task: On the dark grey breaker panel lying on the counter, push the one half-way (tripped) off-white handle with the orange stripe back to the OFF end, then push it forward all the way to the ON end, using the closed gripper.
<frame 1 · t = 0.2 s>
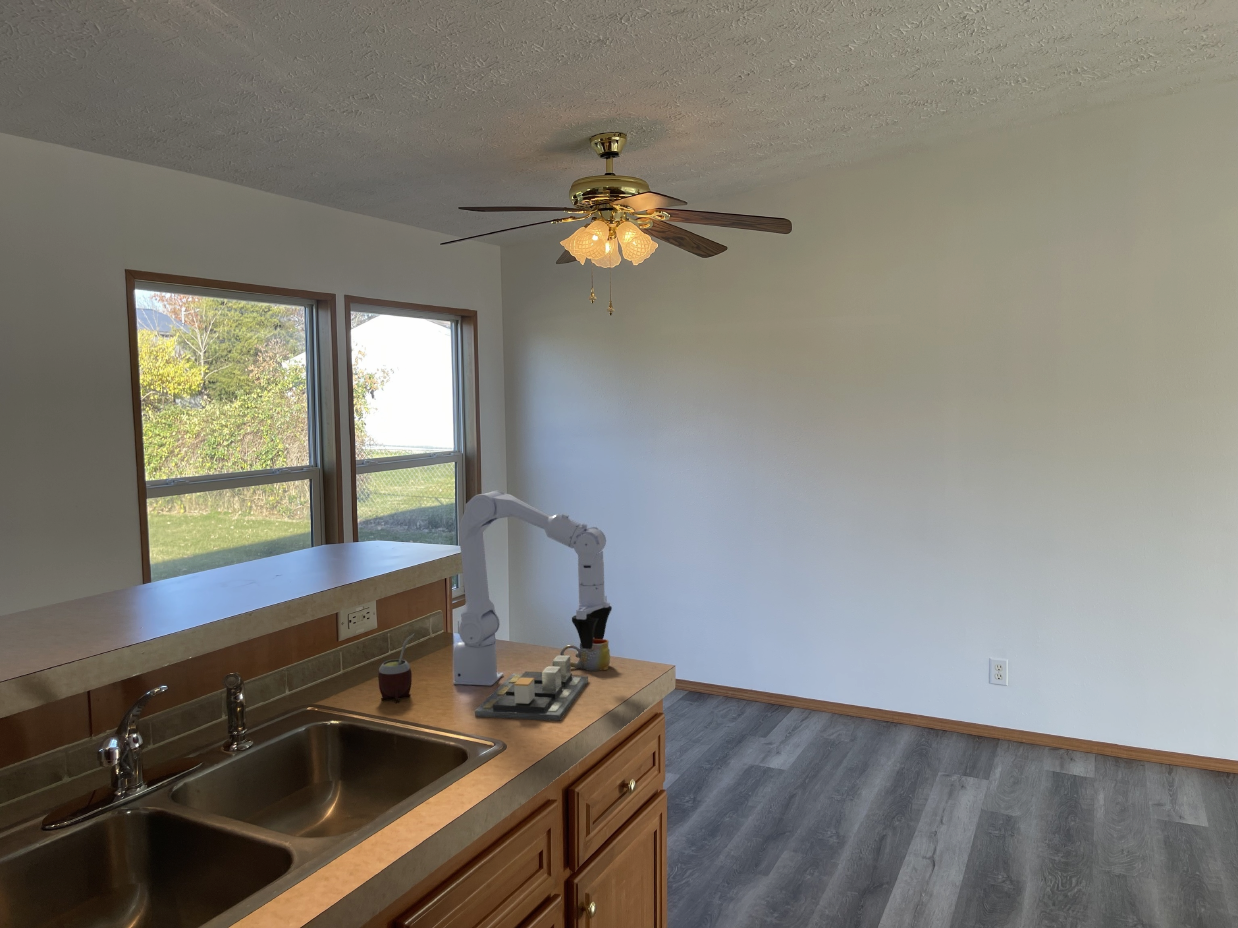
hand: (593, 643, 185), 10 cm above the countertop, tool pointing down, fingers open, 7 cm apart
breaker panel: (534, 697, 180), on the countertop
mug: (585, 668, 200), on the countertop
tripped breaker handle: (524, 690, 171), point 5 cm above the countertop, slide at 3.5 cm
mate gourd: (398, 699, 182), on the countertop
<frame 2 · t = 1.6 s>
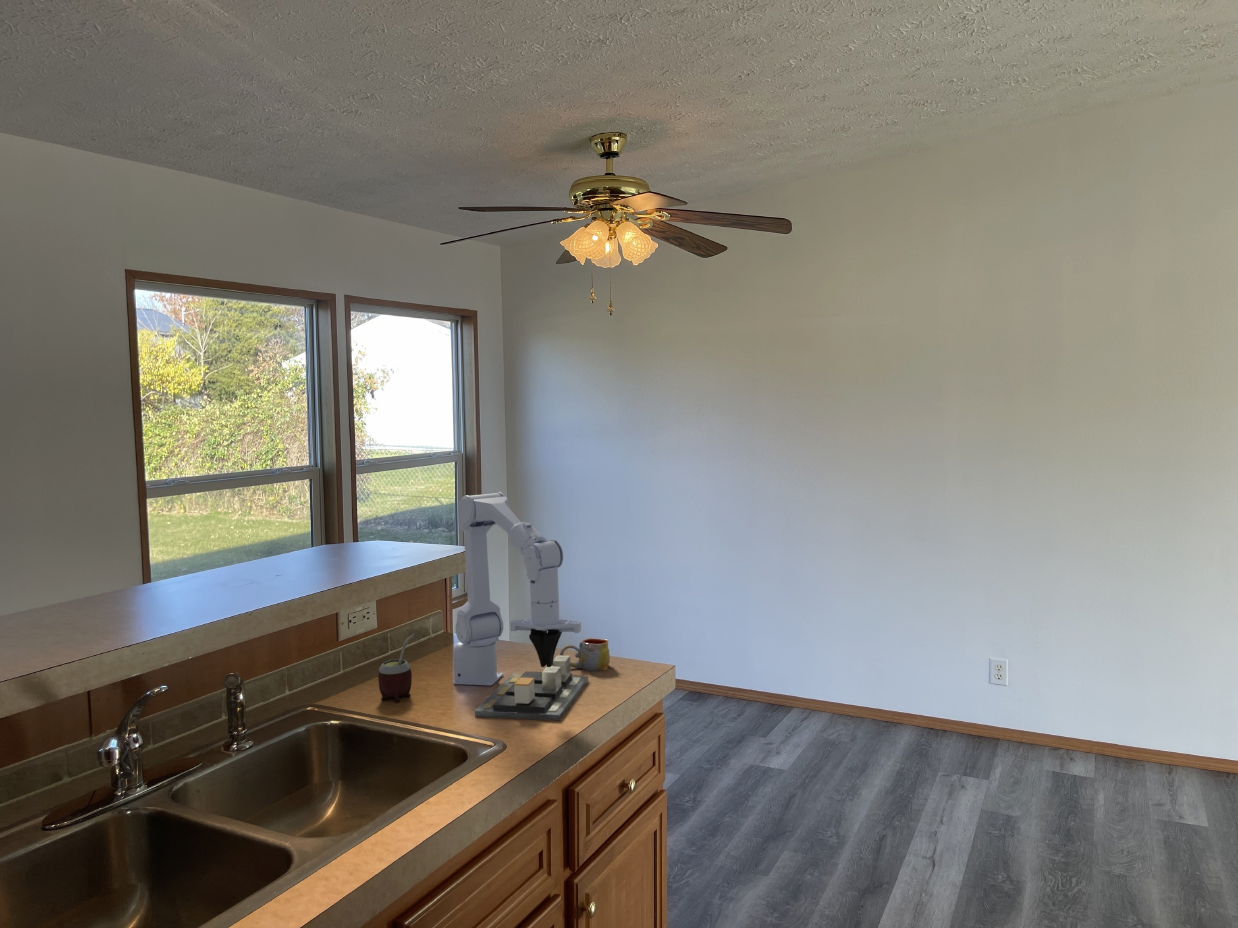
hand: (546, 665, 170), 10 cm above the countertop, tool pointing down, fingers closed
nothing on the countertop moved.
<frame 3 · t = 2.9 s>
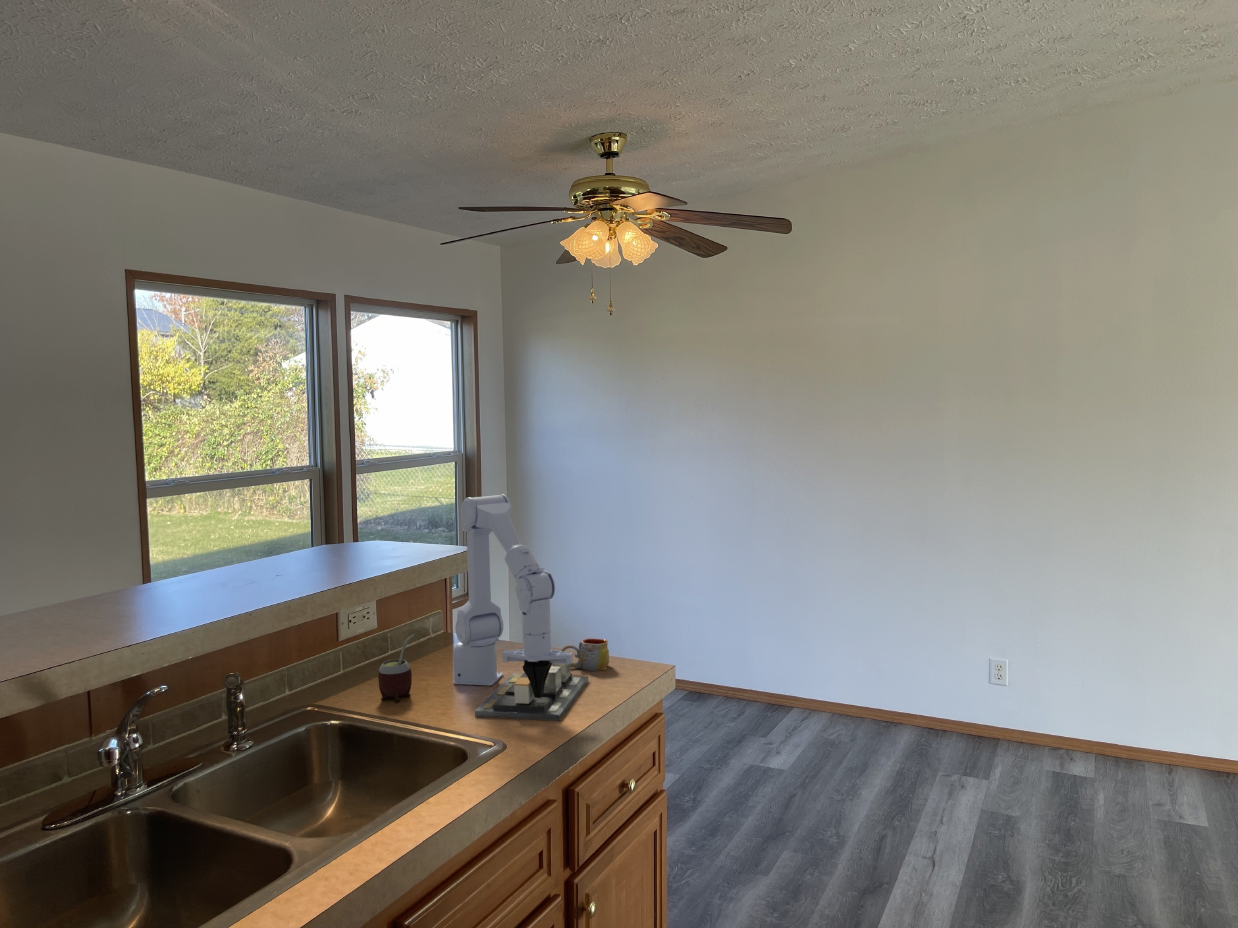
hand: (538, 696, 171), 3 cm above the countertop, tool pointing down, fingers closed
tripped breaker handle: (524, 690, 171), point 5 cm above the countertop, slide at 3.5 cm, touching gripper
everything else where it was.
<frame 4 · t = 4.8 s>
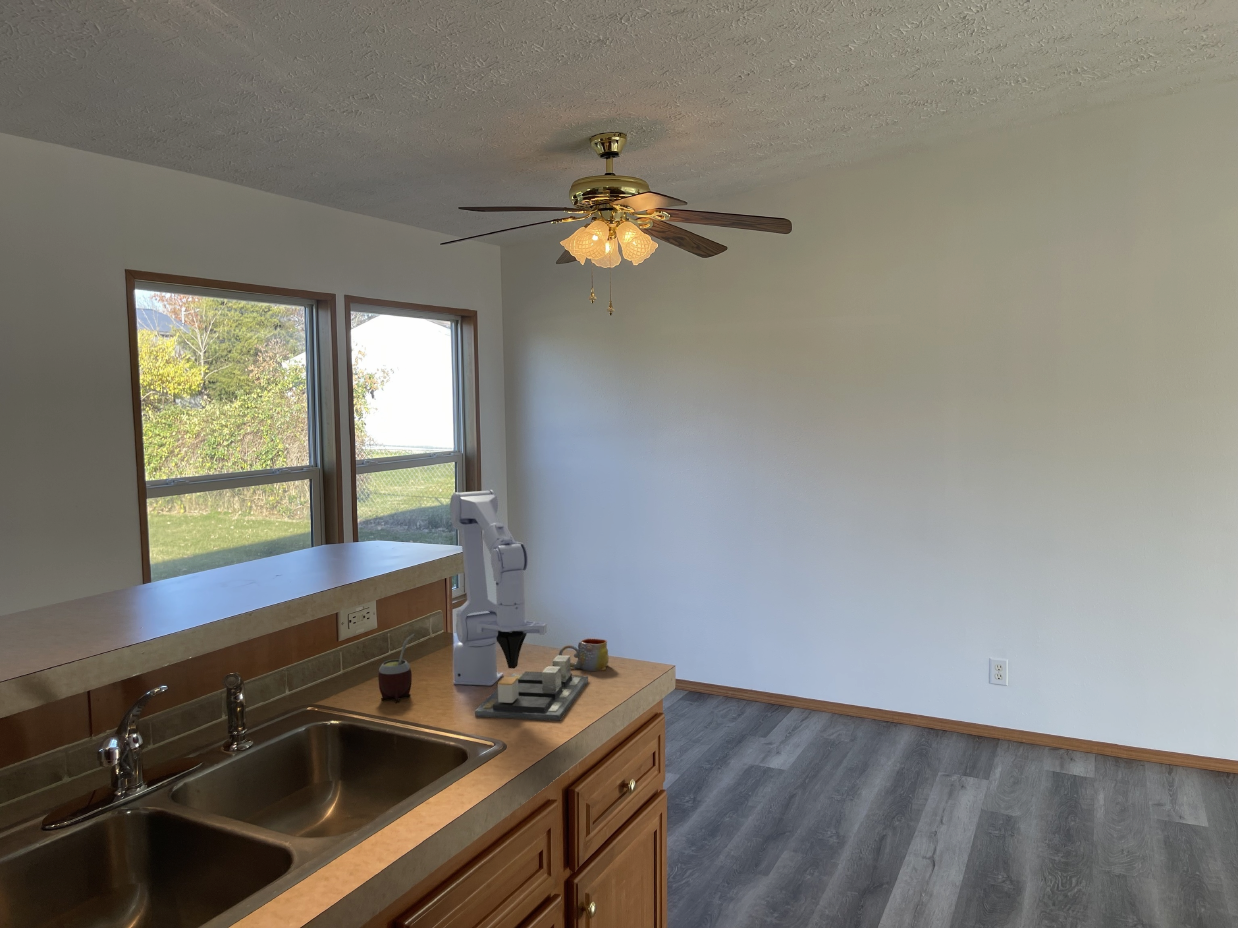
hand: (512, 666, 172), 9 cm above the countertop, tool pointing down, fingers closed
tripped breaker handle: (508, 689, 172), point 5 cm above the countertop, slide at 0.0 cm
everything else where it was.
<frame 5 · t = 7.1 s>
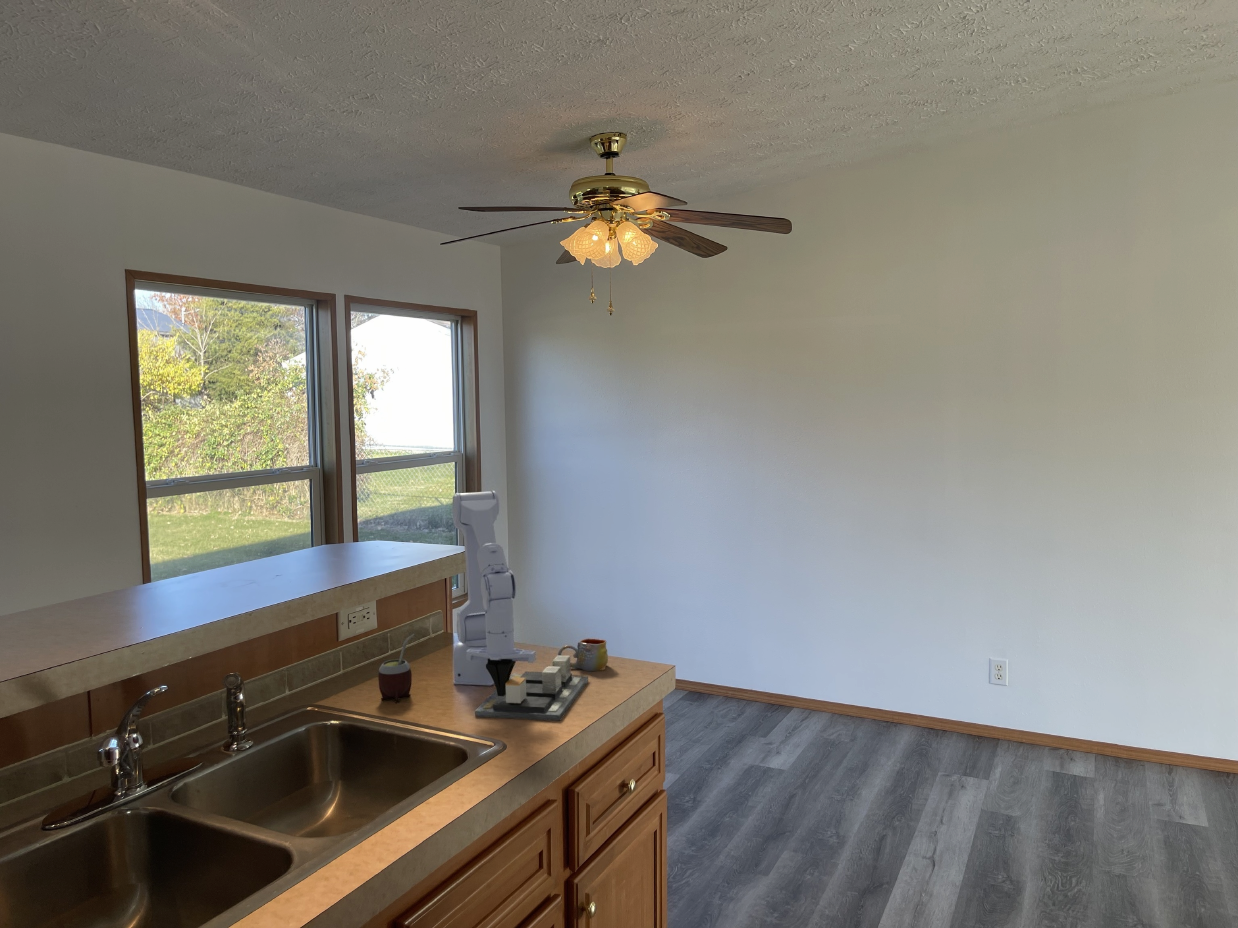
hand: (502, 694, 172), 3 cm above the countertop, tool pointing down, fingers closed
tripped breaker handle: (516, 689, 172), point 5 cm above the countertop, slide at 1.7 cm, touching gripper
everything else where it was.
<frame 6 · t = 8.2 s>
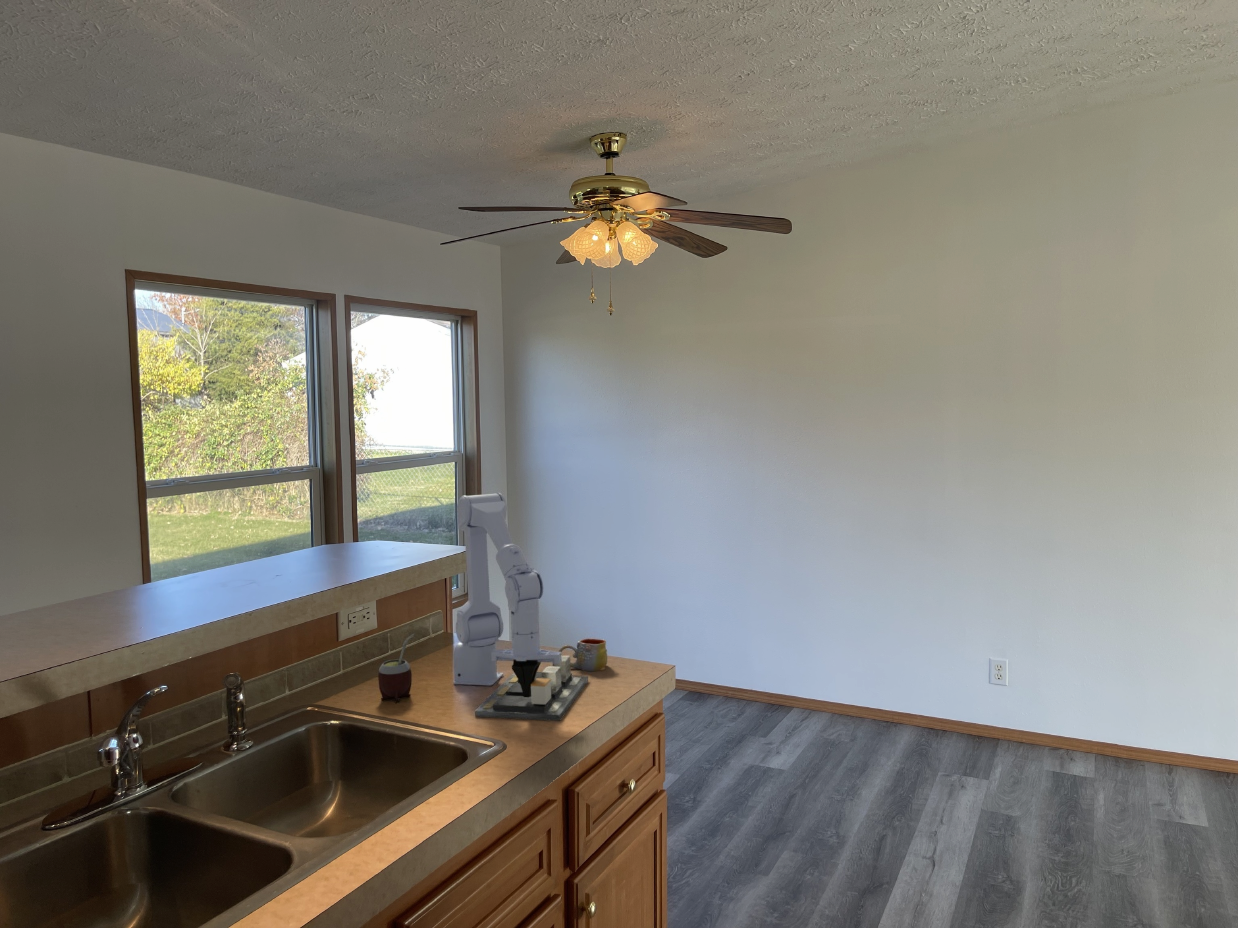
hand: (527, 695, 171), 3 cm above the countertop, tool pointing down, fingers closed
tripped breaker handle: (541, 691, 171), point 5 cm above the countertop, slide at 7.1 cm, touching gripper
everything else where it was.
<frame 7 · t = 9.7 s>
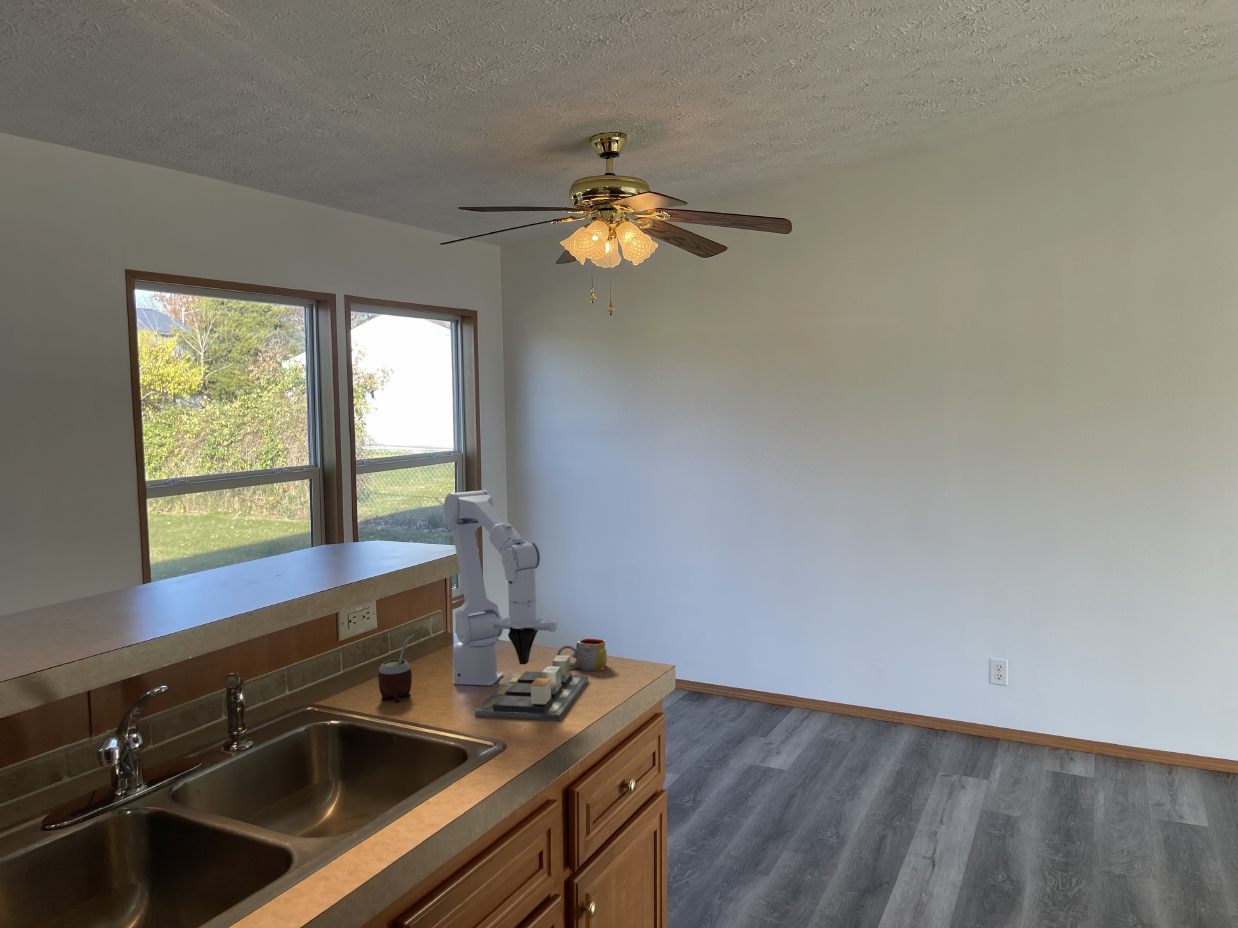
hand: (524, 662, 176), 9 cm above the countertop, tool pointing down, fingers closed
tripped breaker handle: (540, 690, 171), point 5 cm above the countertop, slide at 7.0 cm
everything else where it was.
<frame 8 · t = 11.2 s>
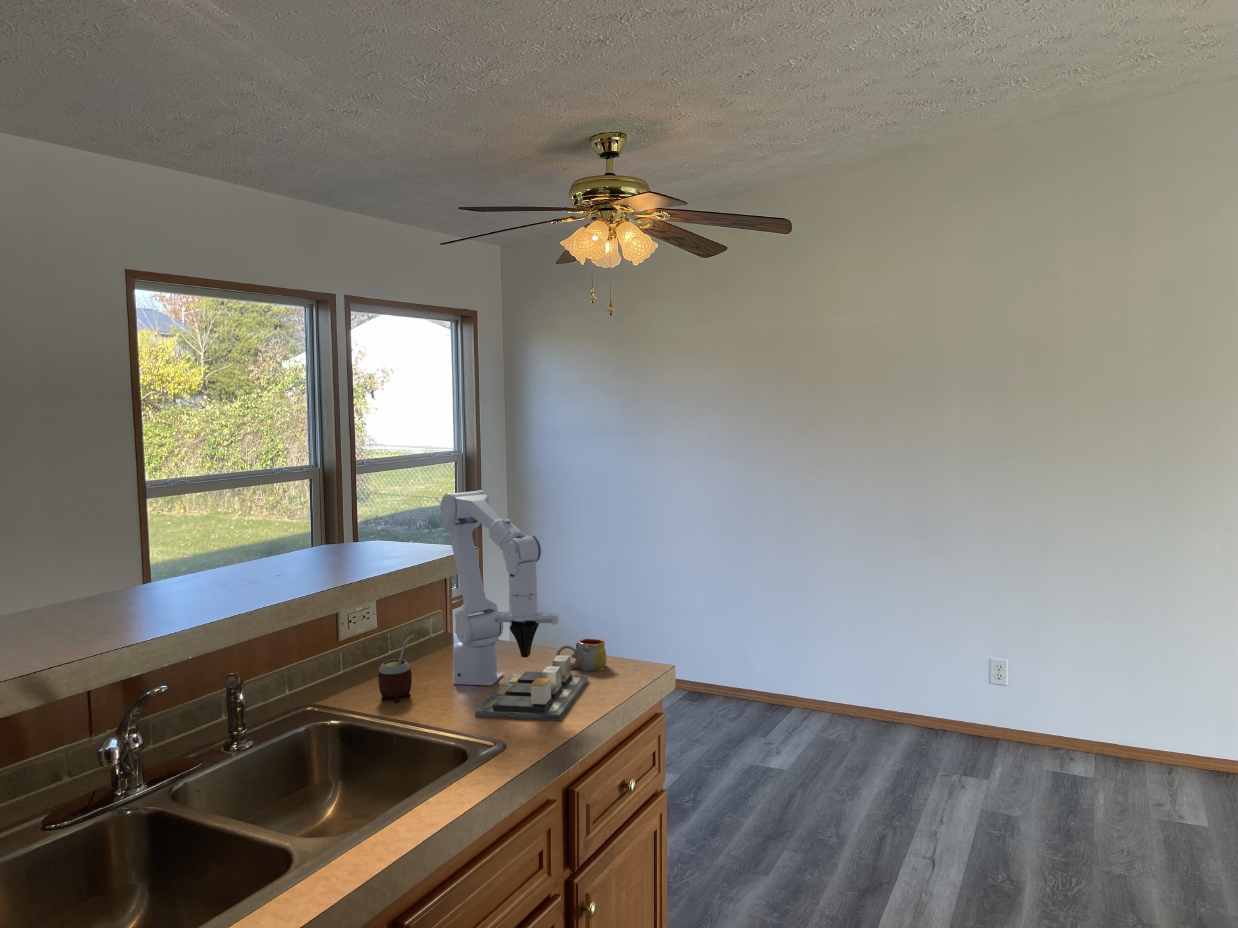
hand: (525, 655, 177), 10 cm above the countertop, tool pointing down, fingers closed
nothing on the countertop moved.
at the end: tripped breaker handle slide at 7.0 cm; tripped breaker handle touching nothing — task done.
